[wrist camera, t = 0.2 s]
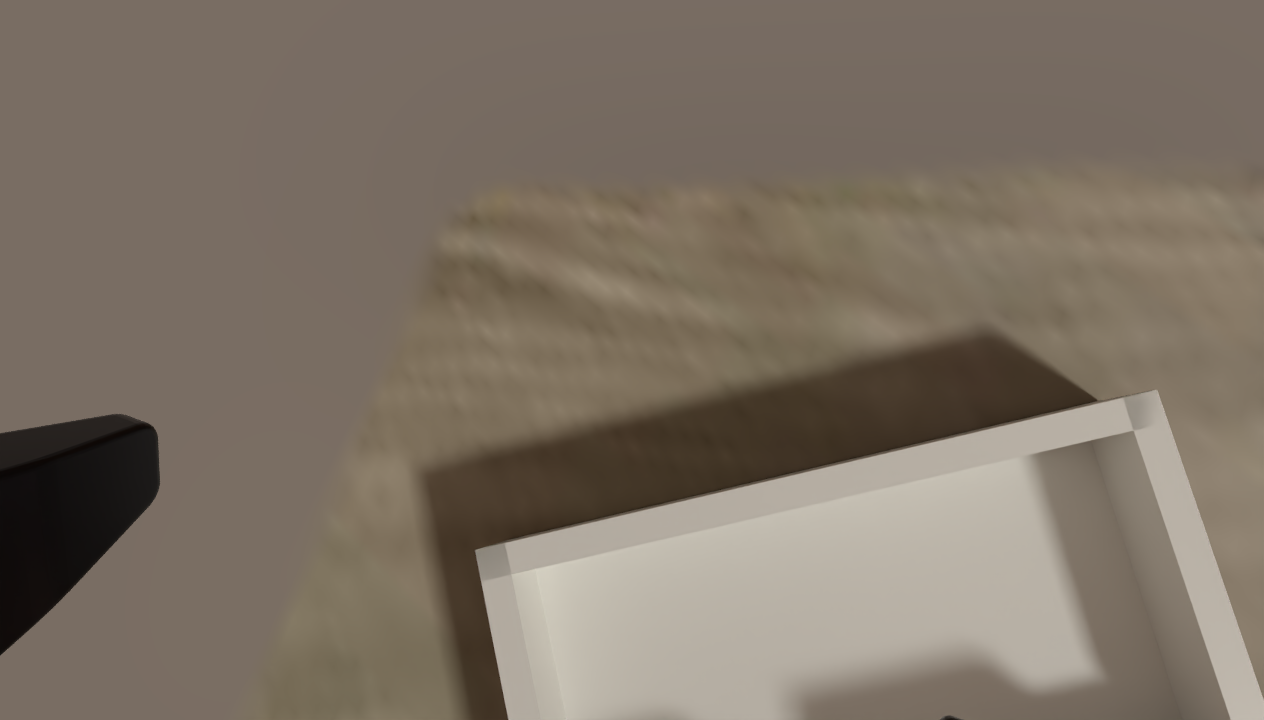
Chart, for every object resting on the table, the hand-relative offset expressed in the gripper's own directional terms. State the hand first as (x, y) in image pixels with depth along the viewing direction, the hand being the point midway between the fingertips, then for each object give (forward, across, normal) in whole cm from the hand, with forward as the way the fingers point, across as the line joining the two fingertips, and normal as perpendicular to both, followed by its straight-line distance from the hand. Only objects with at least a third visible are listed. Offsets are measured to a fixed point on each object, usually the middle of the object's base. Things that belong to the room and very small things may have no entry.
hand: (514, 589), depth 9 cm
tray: (+12, -6, +8) cm, 16 cm away
